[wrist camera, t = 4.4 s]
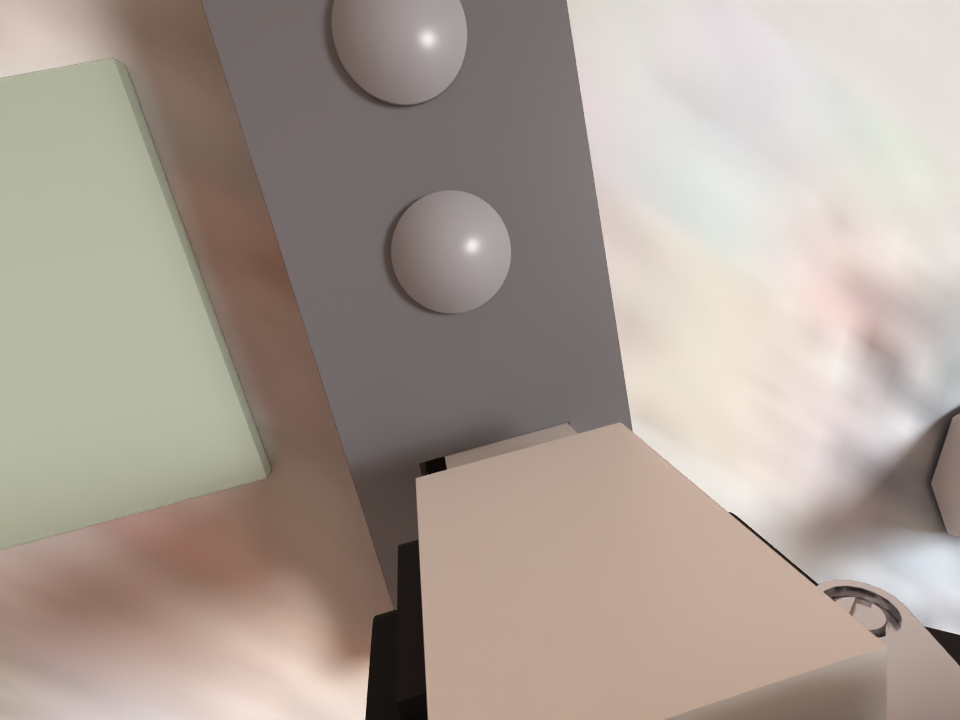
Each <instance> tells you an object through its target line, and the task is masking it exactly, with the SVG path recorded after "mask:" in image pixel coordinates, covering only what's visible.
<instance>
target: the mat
mask: <svg viewBox="0 0 960 720" xmlns="http://www.w3.org/2000/svg"><path fill="white" fill-rule="evenodd" d="M271 470H272V469H271V466H270V464H269V461H268V458H267V455H266V453H265V450H264V447H263V444H262V442H261V439H260V436H259V433H258V430H257V428H256V425H255V422H254V419H253V417H252V414H251V411H250V408H249V406H248V403H247V400H246V397H245V395H244V392H243V389H242V386H241V383H240V381H239V378H238V375H237V372H236V370H235V367H234V364H233V361H232V359H231V356H230V353H229V350H228V347H227V345H226V342H225V339H224V336H223V334H222V331H221V328H220V325H219V323H218V320H217V317H216V314H215V312H214V309H213V306H212V303H211V300H210V298H209V295H208V292H207V289H206V287H205V284H204V281H203V278H202V276H201V273H200V270H199V267H198V265H197V262H196V259H195V256H194V253H193V251H192V248H191V245H190V242H189V240H188V237H187V234H186V231H185V229H184V226H183V223H182V220H181V218H180V215H179V212H178V209H177V206H176V204H175V201H174V198H173V195H172V193H171V190H170V187H169V184H168V182H167V179H166V176H165V173H164V171H163V168H162V165H161V162H160V159H159V157H158V154H157V151H156V148H155V146H154V143H153V140H152V137H151V135H150V132H149V129H148V126H147V124H146V121H145V118H144V115H143V112H142V110H141V107H140V104H139V101H138V99H137V96H136V93H135V90H134V88H133V85H132V82H131V79H130V77H129V74H128V71H127V68H126V66H125V65H123V64H122V63H120V62H119V61H117V60H116V59H114V58H109V59H103V60H98V61H92V62H87V63H81V64H76V65H70V66H65V67H59V68H53V69H48V70H42V71H37V72H31V73H26V74H20V75H14V76H9V77H3V78H0V550H3V549H7V548H11V547H14V546H18V545H22V544H25V543H29V542H33V541H36V540H40V539H44V538H48V537H51V536H55V535H59V534H62V533H66V532H70V531H74V530H77V529H81V528H85V527H88V526H92V525H96V524H99V523H103V522H107V521H111V520H114V519H118V518H122V517H125V516H129V515H133V514H136V513H140V512H144V511H148V510H151V509H155V508H159V507H162V506H166V505H170V504H173V503H177V502H181V501H185V500H188V499H192V498H196V497H199V496H203V495H207V494H211V493H214V492H218V491H222V490H225V489H229V488H233V487H236V486H240V485H244V484H248V483H251V482H255V481H259V480H262V479H266V478H268V476H269V474H270V472H271Z"/></svg>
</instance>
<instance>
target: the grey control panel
mask: <svg viewBox="0 0 960 720" xmlns="http://www.w3.org/2000/svg"><path fill="white" fill-rule="evenodd" d="M201 2H202V5H203V8H204V11H205V14H206V17H207V21H208V24H209V27H210V30H211V33H212V36H213V40H214V43H215V46H216V49H217V52H218V55H219V58H220V62H221V65H222V68H223V71H224V74H225V77H226V81H227V84H228V87H229V90H230V93H231V96H232V99H233V103H234V106H235V109H236V112H237V115H238V118H239V122H240V125H241V128H242V131H243V134H244V137H245V140H246V144H247V147H248V150H249V153H250V156H251V159H252V162H253V166H254V169H255V172H256V175H257V178H258V181H259V185H260V188H261V191H262V194H263V197H264V200H265V203H266V207H267V210H268V213H269V216H270V219H271V222H272V226H273V229H274V232H275V235H276V238H277V241H278V244H279V248H280V251H281V254H282V257H283V260H284V263H285V267H286V270H287V273H288V276H289V279H290V282H291V285H292V289H293V292H294V295H295V298H296V301H297V304H298V307H299V311H300V314H301V317H302V320H303V323H304V326H305V330H306V333H307V336H308V339H309V342H310V345H311V348H312V352H313V355H314V358H315V361H316V364H317V367H318V371H319V374H320V377H321V380H322V383H323V386H324V389H325V393H326V396H327V399H328V402H329V405H330V408H331V412H332V415H333V418H334V421H335V424H336V427H337V430H338V434H339V437H340V440H341V443H342V446H343V449H344V452H345V456H346V459H347V462H348V465H349V468H350V471H351V475H352V478H353V481H354V484H355V487H356V490H357V493H358V497H359V500H360V503H361V506H362V509H363V512H364V516H365V519H366V522H367V525H368V528H369V531H370V534H371V538H372V541H373V544H374V547H375V550H376V553H377V557H378V560H379V563H380V566H381V569H382V572H383V575H384V579H385V582H386V585H387V588H388V591H389V594H390V598H391V601H392V604H393V607H394V610H397V574H398V545H400V544H404V543H407V542H411V541H414V540H418V539H419V535H418V515H417V496H416V478H418V477H422V476H426V475H428V472H427V468H426V465H425V462H426V461H429V460H433V459H436V458H440V457H444V456H447V455H451V454H455V453H458V452H462V451H465V450H469V449H473V448H476V447H480V446H484V445H487V444H491V443H495V442H498V441H502V440H505V439H509V438H513V437H516V436H520V435H524V434H527V433H531V432H534V431H538V430H542V429H545V428H549V427H553V426H556V425H560V424H564V423H568V424H569V425H570V426H571V427H572V428H573V429H574V430H575V432H576V433H577V434H579V433H583V432H586V431H590V430H594V429H597V428H601V427H605V426H608V425H612V424H616V423H619V422H621V423H622V424H624V425H625V426H626V427H627V428H628V429H630V430H631V431H632V424H631V418H630V411H629V405H628V398H627V392H626V385H625V379H624V372H623V366H622V359H621V353H620V346H619V340H618V333H617V327H616V320H615V314H614V307H613V301H612V294H611V288H610V281H609V275H608V268H607V261H606V255H605V248H604V242H603V235H602V229H601V222H600V216H599V209H598V203H597V196H596V190H595V183H594V177H593V170H592V164H591V157H590V151H589V144H588V138H587V131H586V125H585V118H584V112H583V105H582V99H581V92H580V86H579V79H578V73H577V66H576V60H575V53H574V46H573V40H572V33H571V27H570V20H569V14H568V7H567V1H566V0H201ZM632 432H633V431H632Z"/></svg>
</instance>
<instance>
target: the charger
mask: <svg viewBox="0 0 960 720" xmlns="http://www.w3.org/2000/svg"><path fill="white" fill-rule="evenodd" d="M445 461H446V466H447V470H444V471H440V472H437V473H433V474H429V475H426V476H422V477H418V478H416V496H417V515H418V535H419V554H420V573H421V593H422V612H423V632H424V651H425V671H426V690H427V710H428V720H887V651H886V644H884V643H883V642H882V641H881V640H880V639H878V638H877V637H876V636H875V635H874V634H872V633H871V632H870V631H869V630H868V629H866V628H865V627H864V626H863V625H862V624H861V623H859V622H858V621H857V620H856V619H855V618H853V617H852V616H851V615H850V614H849V613H847V612H846V611H845V610H844V609H843V608H841V607H840V606H839V605H838V604H837V603H836V602H834V601H833V600H832V599H831V598H830V597H828V596H827V595H826V594H825V593H824V592H822V591H821V590H820V589H819V588H818V587H816V586H815V585H814V584H813V583H812V582H811V581H809V580H808V579H807V578H806V577H805V576H803V575H802V574H801V573H800V572H799V571H797V570H796V569H795V568H794V567H793V566H791V565H790V564H789V563H788V562H787V561H786V560H784V559H783V558H782V557H781V556H780V555H778V554H777V553H776V552H775V551H774V550H772V549H771V548H770V547H769V546H768V545H766V544H765V543H764V542H763V541H762V540H761V539H759V538H758V537H757V536H756V535H755V534H753V533H752V532H751V531H750V530H749V529H747V528H746V527H745V526H744V525H743V524H741V523H740V522H739V521H738V520H737V519H735V518H734V517H733V516H732V515H731V514H730V513H728V512H727V511H726V510H725V509H724V508H722V507H721V506H720V505H719V504H718V503H716V502H715V501H714V500H713V499H712V498H710V497H709V496H708V495H707V494H706V493H705V492H703V491H702V490H701V489H700V488H699V487H697V486H696V485H695V484H694V483H693V482H691V481H690V480H689V479H688V478H687V477H685V476H684V475H683V474H682V473H681V472H680V471H678V470H677V469H676V468H675V467H674V466H672V465H671V464H670V463H669V462H668V461H666V460H665V459H664V458H663V457H662V456H660V455H659V454H658V453H657V452H656V451H655V450H653V449H652V448H651V447H650V446H649V445H647V444H646V443H645V442H644V441H643V440H641V439H640V438H639V437H638V436H637V435H635V434H634V433H633V432H632V431H631V430H630V429H628V428H627V427H626V426H625V425H624V424H622V423H621V422H619V423H616V424H612V425H608V426H605V427H601V428H597V429H594V430H590V431H586V432H583V433H579V434H577V433H576V432H575V430H574V429H573V428H572V427H571V426H570V425H569V424H568V423H564V424H560V425H556V426H553V427H549V428H545V429H542V430H538V431H534V432H531V433H527V434H524V435H520V436H516V437H513V438H509V439H505V440H502V441H498V442H495V443H491V444H487V445H484V446H480V447H476V448H473V449H469V450H465V451H462V452H458V453H455V454H451V455H447V456H445Z"/></svg>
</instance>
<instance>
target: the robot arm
mask: <svg viewBox="0 0 960 720" xmlns="http://www.w3.org/2000/svg"><path fill="white" fill-rule="evenodd" d="M728 513H730V514H731V515H732V516H733V517H734V518H735V519H737V520H738V521H739V522H740V523H741V524H743V525H744V526H745V527H746V528H747V529H749V530H750V531H751V532H752V533H753V534H755V535H756V536H757V537H758V538H759V539H761V540H762V541H763V542H764V543H765V544H766V545H768V546H769V547H770V548H771V549H772V550H774V551H775V552H776V553H777V554H778V555H780V556H781V557H782V558H783V559H784V560H786V561H787V562H788V563H789V564H790V565H791V566H793V567H794V568H795V569H796V570H797V571H799V572H800V573H801V574H802V575H803V576H805V577H806V578H807V579H808V580H809V581H811V582H812V583H813V584H814V585H815V586H816V587H818V588H819V589H820V590H821V591H822V592H824V593H825V594H826V595H827V596H828V597H830V598H831V599H832V600H833V601H834V602H836V603H837V604H838V605H839V606H840V607H841V608H843V609H844V610H845V611H846V612H847V613H849V614H850V615H851V616H852V617H853V618H855V619H856V620H857V621H858V622H859V623H861V624H862V625H863V626H864V627H865V628H866V629H868V630H869V631H870V632H871V633H872V634H874V635H875V636H876V637H877V638H878V639H880V640H881V641H882V642H883V643H884V644H886V651H887V720H960V635H958V634H953V633H949V632H945V631H941V630H937V629H933V628H929V627H925V626H923V625H922V624H921V623H920V621H919V620H918V619H917V618H916V617H915V616H914V615H913V614H912V612H911V611H910V610H909V609H908V608H907V607H906V606H905V605H904V604H903V603H902V602H900V601H899V600H898V599H897V598H896V597H894V596H893V595H891V594H889V593H887V592H886V591H884V590H882V589H880V588H877V587H875V586H872V585H869V584H866V583H862V582H857V581H852V580H832V581H827V582H823V583H821V584H819V585H818V584H817V583H816V582H815V581H814V580H812V579H811V578H810V577H809V576H808V575H807V574H805V573H804V572H803V571H802V570H801V569H799V568H798V567H797V566H796V565H795V564H793V563H792V562H791V561H790V560H789V559H787V558H786V557H785V556H784V555H783V554H781V553H780V552H779V551H778V550H777V549H775V548H774V547H773V546H772V545H771V544H769V543H768V542H767V541H766V540H765V539H764V538H762V537H761V536H760V535H759V534H758V533H756V532H755V531H754V530H753V529H752V528H750V527H749V526H748V525H747V524H746V523H744V522H743V521H742V520H741V519H740V518H738V517H737V516H736V515H734V514H733V513H731V512H728ZM365 720H428V710H427V690H426V671H425V651H424V632H423V612H422V593H421V573H420V554H419V539H418V540H414V541H411V542H407V543H404V544H400V545H398V574H397V610H393V611H390V612H387V613H383V614H380V615H376V616H375V617H374V619H373V626H372V639H371V652H370V666H369V679H368V692H367V706H366V719H365Z"/></svg>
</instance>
